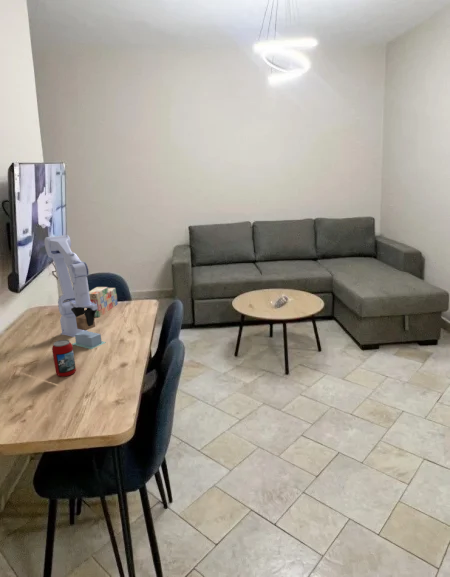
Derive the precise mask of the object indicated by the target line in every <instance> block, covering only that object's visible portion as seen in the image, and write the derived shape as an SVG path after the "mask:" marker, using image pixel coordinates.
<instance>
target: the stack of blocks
mask: <svg viewBox="0 0 450 577" xmlns="http://www.w3.org/2000/svg"><path fill="white" fill-rule="evenodd" d="M89 295H90V302H92V303H94V304H97V307H98V309H97V311H96V313H95V316H94V318H95V317H96V318H97V317H102V316H103V315H104V314H106V313H108V311H110V310H111V309H113V308H115V307H116V306H117V305H118V294H117V289H116V287H108V286H96V287H94V288H92V289H91V290H89Z"/></svg>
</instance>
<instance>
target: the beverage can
mask: <svg viewBox="0 0 450 577" xmlns="http://www.w3.org/2000/svg"><path fill="white" fill-rule="evenodd" d="M51 351H52V352H51V353H52V357H53V358H52V359H53V364H54V369H55V375H56V376H58V377H64V378H65V377H68V376H71V375H73V374H75V373H76V371H77V368H76V361H75V355H74V354H75V353H74V347H73V343H71V342H70V340H69V339H60V340H57V341H55V342H53V345H52V348H51Z"/></svg>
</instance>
